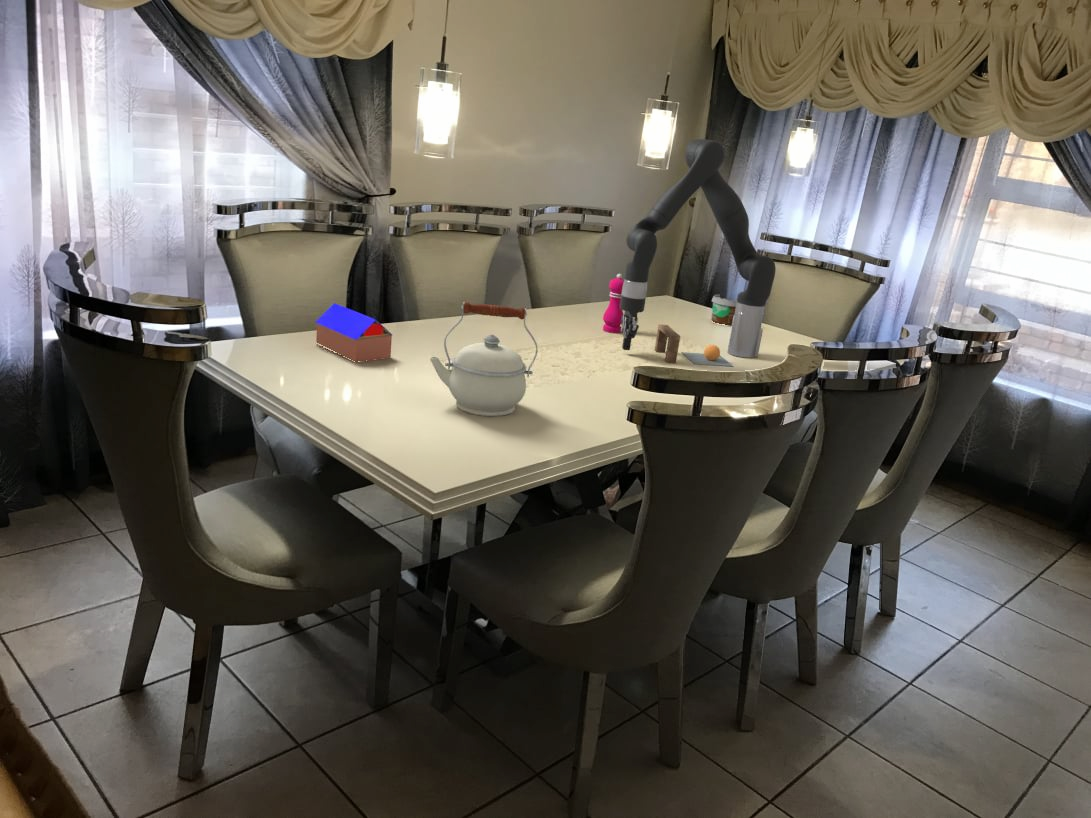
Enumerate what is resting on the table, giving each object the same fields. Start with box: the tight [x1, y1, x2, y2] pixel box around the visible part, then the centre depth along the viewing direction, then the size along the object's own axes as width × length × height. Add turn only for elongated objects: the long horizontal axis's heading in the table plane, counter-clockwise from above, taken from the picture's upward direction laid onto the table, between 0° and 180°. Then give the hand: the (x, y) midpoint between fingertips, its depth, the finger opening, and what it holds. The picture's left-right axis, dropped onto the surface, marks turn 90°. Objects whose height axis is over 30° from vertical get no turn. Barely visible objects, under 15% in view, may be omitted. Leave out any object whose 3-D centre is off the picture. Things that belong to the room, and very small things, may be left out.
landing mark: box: [681, 351, 734, 368], centre depth 272 cm, size 13×13×1 cm
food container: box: [711, 294, 737, 326], centre depth 326 cm, size 12×6×10 cm, turn 25°
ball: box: [703, 344, 721, 361], centre depth 271 cm, size 5×5×5 cm
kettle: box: [429, 301, 538, 417], centre depth 200 cm, size 25×18×25 cm
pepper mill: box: [602, 273, 624, 334], centre depth 292 cm, size 7×7×20 cm
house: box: [314, 303, 393, 363], centre depth 235 cm, size 12×20×12 cm, turn 46°
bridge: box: [654, 323, 681, 364], centre depth 268 cm, size 3×14×9 cm, turn 9°
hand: (625, 349), depth 266 cm, fingers closed
